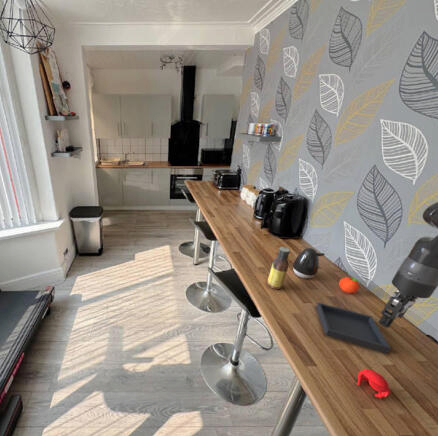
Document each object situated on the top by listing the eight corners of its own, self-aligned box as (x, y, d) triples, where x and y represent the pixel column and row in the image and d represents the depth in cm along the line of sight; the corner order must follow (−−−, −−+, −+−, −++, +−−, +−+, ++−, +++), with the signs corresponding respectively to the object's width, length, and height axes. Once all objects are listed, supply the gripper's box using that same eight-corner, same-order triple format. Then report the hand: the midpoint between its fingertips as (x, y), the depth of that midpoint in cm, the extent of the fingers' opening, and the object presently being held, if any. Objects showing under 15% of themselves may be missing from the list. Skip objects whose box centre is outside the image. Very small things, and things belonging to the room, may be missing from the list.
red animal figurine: (351, 371, 72) (359, 359, 70) (376, 380, 70) (385, 367, 68) (361, 398, 65) (370, 384, 63) (388, 408, 63) (398, 394, 61)
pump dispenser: (315, 284, 110) (326, 257, 104) (290, 276, 115) (299, 250, 109) (314, 273, 118) (324, 247, 112) (291, 266, 123) (299, 241, 117)
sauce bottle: (273, 280, 112) (285, 244, 104) (284, 288, 107) (297, 251, 99) (263, 283, 110) (274, 246, 102) (274, 291, 104) (286, 253, 96)
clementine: (351, 287, 109) (357, 274, 106) (362, 297, 103) (369, 284, 100) (333, 285, 110) (338, 273, 107) (343, 295, 104) (349, 282, 101)
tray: (368, 321, 91) (371, 316, 90) (387, 353, 78) (391, 348, 77) (316, 307, 97) (318, 302, 96) (325, 335, 84) (328, 330, 83)
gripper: (428, 292, 56) (396, 339, 63) (448, 276, 62) (417, 321, 69) (388, 274, 62) (362, 319, 69) (410, 261, 68) (385, 304, 75)
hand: (390, 320), depth 69 cm, fingers open, 8 cm apart
